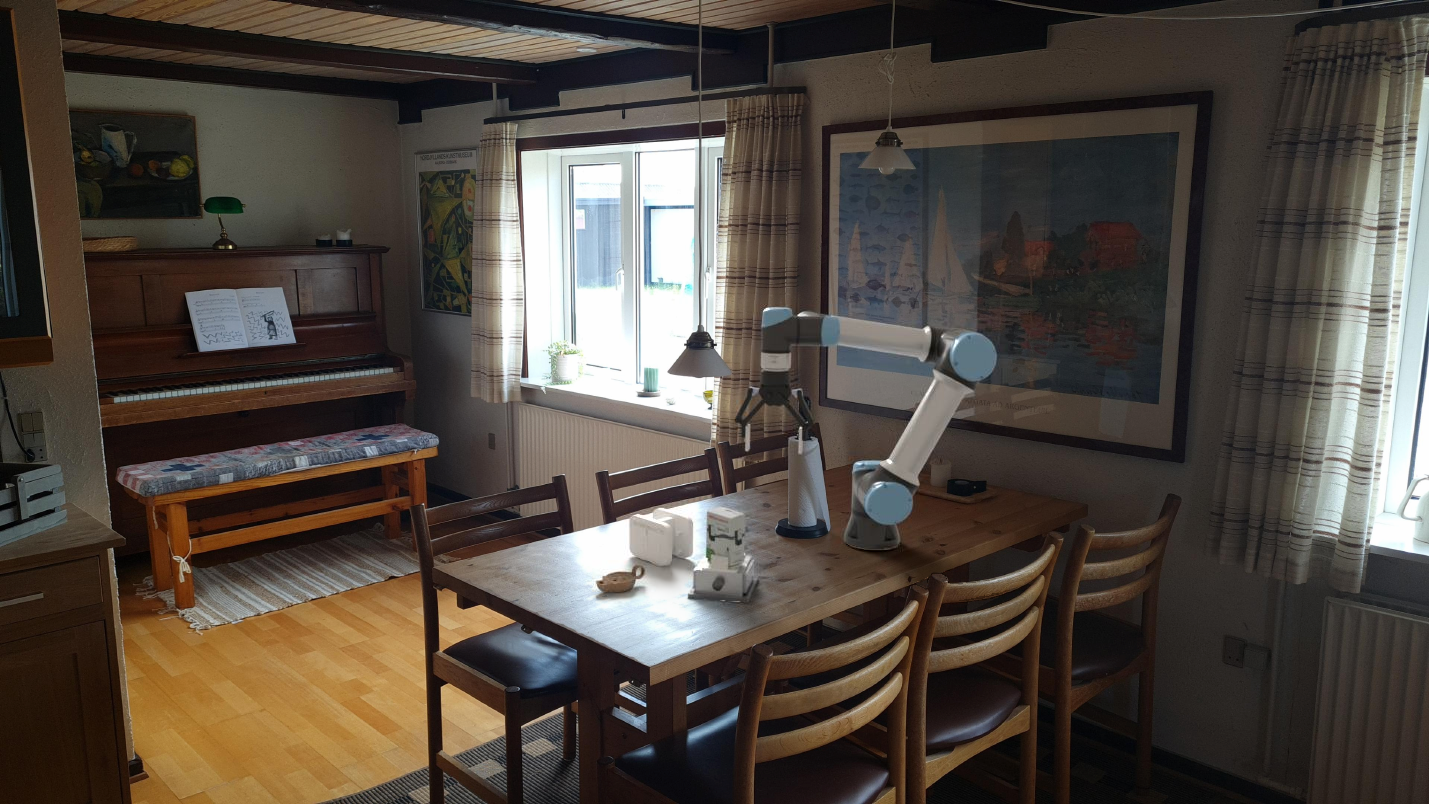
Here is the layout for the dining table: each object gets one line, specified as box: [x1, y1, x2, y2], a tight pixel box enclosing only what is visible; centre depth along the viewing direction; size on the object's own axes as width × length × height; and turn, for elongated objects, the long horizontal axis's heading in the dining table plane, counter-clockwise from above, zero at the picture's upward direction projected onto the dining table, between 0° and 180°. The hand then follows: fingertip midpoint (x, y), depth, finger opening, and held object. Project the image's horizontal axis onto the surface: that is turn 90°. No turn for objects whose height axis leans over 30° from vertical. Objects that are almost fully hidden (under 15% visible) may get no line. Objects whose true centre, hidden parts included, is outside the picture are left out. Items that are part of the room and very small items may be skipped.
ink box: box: [705, 506, 746, 566], centre depth 232 cm, size 9×5×12 cm, turn 44°
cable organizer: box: [628, 507, 694, 567], centre depth 254 cm, size 15×11×12 cm
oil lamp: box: [595, 563, 646, 593], centre depth 233 cm, size 13×8×5 cm, turn 124°
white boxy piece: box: [687, 552, 759, 603], centre depth 233 cm, size 14×16×10 cm
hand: (773, 451), depth 251 cm, fingers open, 13 cm apart
